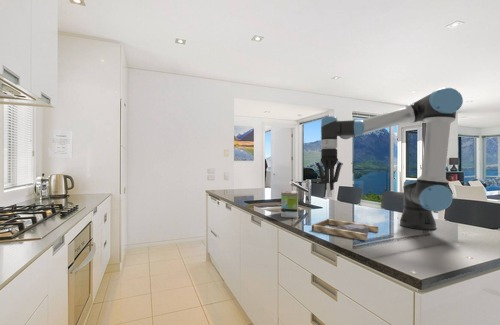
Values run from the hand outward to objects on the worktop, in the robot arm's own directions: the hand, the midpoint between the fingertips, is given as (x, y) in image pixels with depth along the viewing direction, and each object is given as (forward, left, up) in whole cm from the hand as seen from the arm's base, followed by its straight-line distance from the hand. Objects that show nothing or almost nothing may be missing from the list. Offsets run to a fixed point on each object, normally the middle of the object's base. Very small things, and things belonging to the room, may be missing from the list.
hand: (329, 196), depth 122 cm
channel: (-8, 0, -16) cm, 17 cm away
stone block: (-11, 0, -16) cm, 19 cm away
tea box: (+32, -15, -16) cm, 39 cm away
